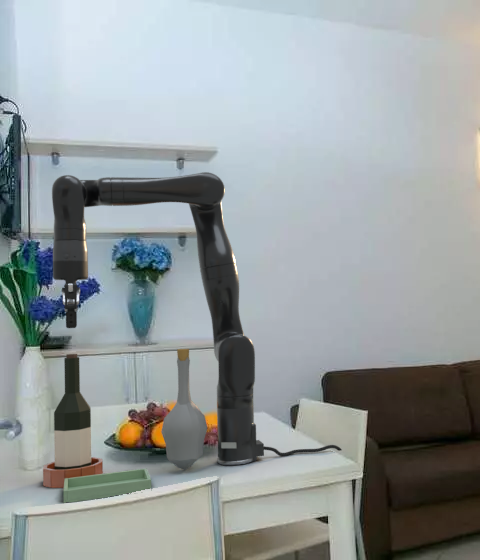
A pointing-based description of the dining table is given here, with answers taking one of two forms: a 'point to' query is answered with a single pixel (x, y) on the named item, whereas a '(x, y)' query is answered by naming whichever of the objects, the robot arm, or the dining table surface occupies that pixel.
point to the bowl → (69, 473)
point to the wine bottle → (72, 422)
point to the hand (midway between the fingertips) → (71, 327)
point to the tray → (105, 485)
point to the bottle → (184, 422)
